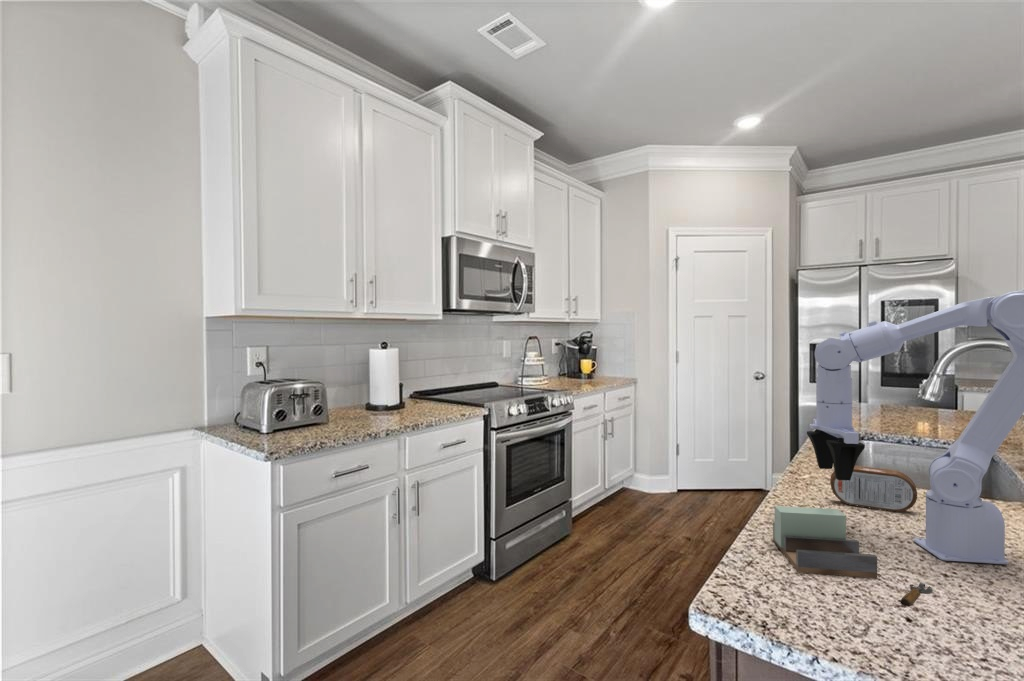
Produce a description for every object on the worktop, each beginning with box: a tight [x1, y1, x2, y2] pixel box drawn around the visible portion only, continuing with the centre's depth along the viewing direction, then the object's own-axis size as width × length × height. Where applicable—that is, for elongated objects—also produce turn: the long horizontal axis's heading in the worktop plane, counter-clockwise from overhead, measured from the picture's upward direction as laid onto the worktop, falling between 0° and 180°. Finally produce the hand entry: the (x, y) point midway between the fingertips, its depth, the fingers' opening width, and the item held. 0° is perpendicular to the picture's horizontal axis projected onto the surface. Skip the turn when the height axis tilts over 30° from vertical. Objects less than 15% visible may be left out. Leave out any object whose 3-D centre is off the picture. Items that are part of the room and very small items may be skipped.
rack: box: [772, 522, 878, 579], centre depth 83 cm, size 11×12×3 cm
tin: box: [829, 464, 918, 513], centre depth 107 cm, size 15×3×8 cm, turn 58°
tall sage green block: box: [774, 505, 847, 548], centre depth 86 cm, size 3×10×6 cm, turn 79°
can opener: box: [900, 582, 934, 607], centre depth 72 cm, size 9×2×1 cm, turn 121°
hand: (833, 473), depth 95 cm, fingers open, 7 cm apart
